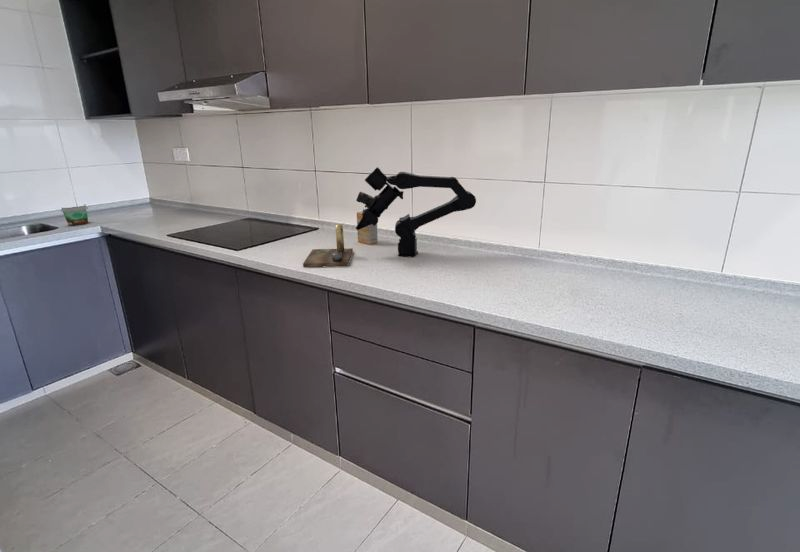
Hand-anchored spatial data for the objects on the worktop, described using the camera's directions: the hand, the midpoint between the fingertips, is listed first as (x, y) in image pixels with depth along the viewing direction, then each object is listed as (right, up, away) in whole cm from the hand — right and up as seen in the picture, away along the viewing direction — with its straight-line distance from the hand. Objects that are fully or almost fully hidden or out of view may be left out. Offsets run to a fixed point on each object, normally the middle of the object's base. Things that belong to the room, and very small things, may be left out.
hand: (356, 229), depth 166 cm
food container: (-159, +10, +73) cm, 175 cm away
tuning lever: (-6, -10, -1) cm, 12 cm away
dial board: (-10, -12, 0) cm, 16 cm away
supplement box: (+3, -4, +22) cm, 23 cm away
